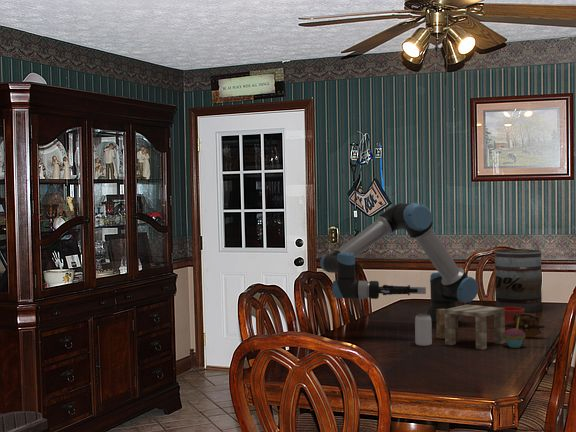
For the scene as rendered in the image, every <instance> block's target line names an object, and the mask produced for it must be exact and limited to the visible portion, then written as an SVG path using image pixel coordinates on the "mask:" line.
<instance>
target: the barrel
mask: <svg viewBox="0 0 576 432" xmlns="http://www.w3.org/2000/svg"><path fill="white" fill-rule="evenodd" d="M494 275H495V277H494V278H495V279H494V282H495V284H494V285H495V286H494V287H495V291H494V292H495V307H498V308H500V307H520V308H524V313H528V314H536V313H540V312H541V311H543V310H542V309H543V307H542V305H543V302H542V301H543V300H542V297H543V296H542V294H543V293H542V250H539V249H526V248H525V249H521V248H520V249H498V250H497V249H496V250H494Z"/></svg>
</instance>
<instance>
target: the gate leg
mask: <svg viewBox="0 0 576 432" xmlns="http://www.w3.org/2000/svg"><path fill="white" fill-rule="evenodd" d="M435 323H436V338H438V339H441V340H442V339H443V340H445V309H444V308H443V309H436V322H435ZM455 333H456V343H458V342H459V321H458V315H457V314H455Z"/></svg>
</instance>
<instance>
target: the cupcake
mask: <svg viewBox="0 0 576 432" xmlns="http://www.w3.org/2000/svg"><path fill="white" fill-rule="evenodd" d="M519 317H520V316H519ZM519 319H520V318H518V320H517V327H516V328H513V329H508V330H506V331H504V332H503V337H504V338H505V342H506V344H507V346H508V347H509V348H512V349H514V348H515V349H518V348H521V347H522V343H523V342H524V339H526V337H525V335H526V334H525V333H524V332H523V331H522V330H519V329H518V325H519Z"/></svg>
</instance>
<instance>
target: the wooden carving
mask: <svg viewBox="0 0 576 432" xmlns="http://www.w3.org/2000/svg"><path fill="white" fill-rule="evenodd" d="M519 316H520V317H519ZM518 318H520V319H519V325H518V329H519V330H522V331H523V332H524V333H525V334H526V335H525V338H533V337H535V336H538V335H540V334H542V331H541V330H540V329H545V328H546V326H545V325H540V318H539V316H538V315H534V314H533V313H522V314H519V315H516V314H515V315H514V318H513V320H514V323H508V324H505V328H506V330H508V329H513V328H516V327H517V320H518Z"/></svg>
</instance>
